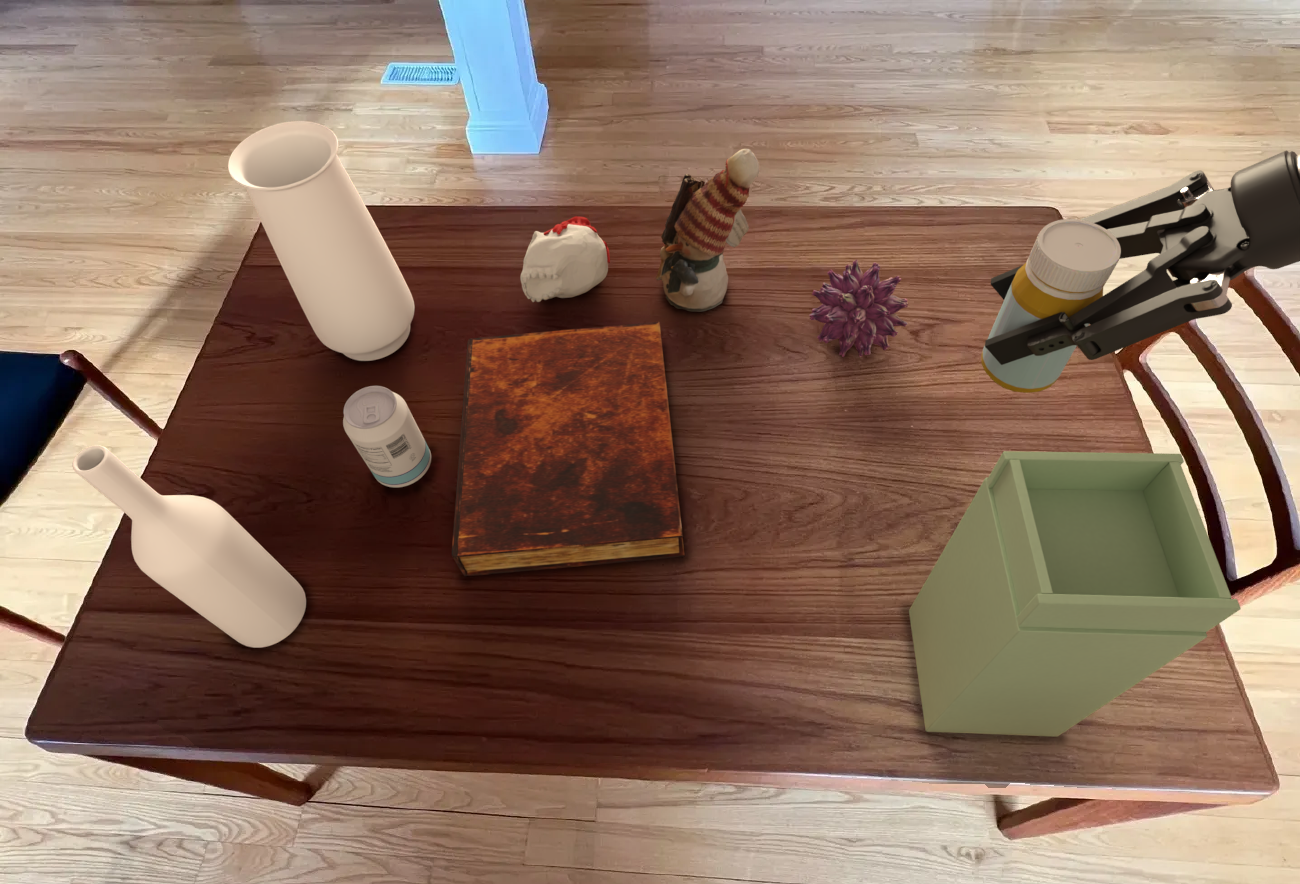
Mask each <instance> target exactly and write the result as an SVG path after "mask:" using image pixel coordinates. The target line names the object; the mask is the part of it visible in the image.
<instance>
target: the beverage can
mask: <svg viewBox="0 0 1300 884" xmlns="http://www.w3.org/2000/svg"><path fill="white" fill-rule="evenodd" d="M342 419H343V420H342V425H343V426H342V427H343V429H344V432H345V433H346V435H347V437H348V438H349V440H350V441H351V443H352V444H353V446H354V448H355V449H356V451H357V452H358V454H359V456H360V457H361V458H362V460H363V462H364V463H365V464H366V466H367V468H368V470H369V471H370V472H371V474H372V476H373V477H374V478H375V479H376V481H377V482H378V483H380V485H383V486H385V487H389V488H403V487H404V488H405V487H408V486H410V485H412V484H414V483H416V482H418V481H419V480H420V479H422V478H423V476H425V474H426V473H427V472H428V470H429V468H430V466H431V463H432V453H431V450H430V448H429V446H428V443H427V441H426V439H425V438H424V435H423V433H422V431H421V430H420V428H419V426H418V424H417V421H416V420H415V418H414V417H413V414H412V412H411V410H410V408H409V406H408V404H407V402H406V401H405V399H404V398H403V396H401V395H400V394H398V393H396V392H394V391H392V390H391V389H389V388H387V387H385V386H382V385H370V386H365V387H363V388H361V389H360V388H359V390H357V391H355V392H354V393H352V395H351V396H350V397H349V398H348V399H347V400H346V402H345V404H344V407H343V418H342Z"/></svg>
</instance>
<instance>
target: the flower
mask: <svg viewBox="0 0 1300 884" xmlns="http://www.w3.org/2000/svg"><path fill="white" fill-rule="evenodd" d="M844 268H845V270H843V271H842V275H841V274H839V273H837V272H834V271H833V269H830V270H828V271H827V272H826V274H827V275H828V277H829V283H830V284H829V283H826V282H823V283H822V285H821V287H820V288H819V290H815V289H813V291H812V293H811V295H812V296H813V297H816V298H817V300H819V302H820V303H821V304H820V305H819V306H818V307H815V308H812V310H811V313H810V314H809V315H808V316H809V319H810V321H817V322H819V323H822V324H823V327H822V329H821V331H820V333H819V334H818V335H817V336H816V338H817V340H818V342H819V343H823V342H824V343H825V344H828V343H829V342H832V341H835V340H838V344H839V354H838V355H839V356H841V357H842V358H844V357H845V356H846V353H847V351H848V350H850V349H851V348H852V347H853V346H854V347H855V349H856V351H857V352H858V357H859V358H861V357H863V355H865V356H869V355H871V354H872V353H871V347H872V345H877V346H879V347H880V348H881V349H882V350H883V351H884V352H885V351H887V350H888V348H891V345H890V344H889V339H888V337H889V336H890V337H892V338H896V336H898V333H899V331H898V330H897V329H896V328H895V327H900V326H901V327H907V325H908V322H907V321H905V320H903V319H902V318H901V317H899V315H898V314H896V313H898V312H899V311H900V310H902V309H905V308H908V305H909V302H908V298H907V297H905V298H901V297H898V296H896V295H893V294H894V292H895V290H896V288H897V285H898V284H900V282H901V281H902V278H901V277H900V275H896V276H895V277H891V276H890V277H889V278H887V279H884V280H881V279H880V274H879V273H880V270H881V266H880V263H877V262H875V261H874V262H873V263H872V265H871V266H870V267H869V268H868V269H867V270H866V271H865V272H863V271H862V269H861V267H860V266H859V260H858V259H854V260H853V261H852V263H850V264H849V263H848V264H846V265H845V267H844ZM880 280H881V281H880Z"/></svg>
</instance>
